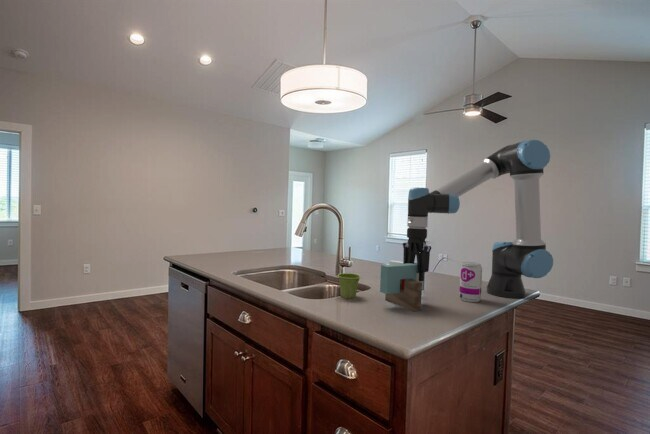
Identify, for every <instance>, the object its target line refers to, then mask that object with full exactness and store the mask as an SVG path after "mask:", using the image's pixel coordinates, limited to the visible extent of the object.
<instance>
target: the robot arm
mask: <svg viewBox="0 0 650 434" xmlns="http://www.w3.org/2000/svg"><path fill="white" fill-rule="evenodd" d="M550 159H551V152H550V149H549V148H548V146H547V145H546V144H545V143H544V142H543V141H541V140H539V139H527V140H522V141H520V142H516V143H512V144H509V145H506V146H504V147H502V148H500V149H499V150H497V151H495V152H494V153H492V154H490V155H489V156H488V157H485V158H484V159H483V160H481V163H480V164H478V165H477V166H475V167H473V168H471V169H469V170H468V171H466V172H463V173H462V174H461V175H459V176H457V177H455V178H454V179H452V180H450V181H448V182H446V183H445V184H443V185H442V186H439V187H438V188H436V189H434V190H433V191H431V192H430V190H429V188H428V187H411V188H410V189H409V191H408V197H407V222H406V223H407V226H406V227H407V229H406V237H407V238H408V239H407V242H403V243H402V247H403V248H402V249H403V261H402V262H403V264H406V263H415V260H416V263H417V266H418V271H417V273H416V281H419V282H422V288H423V281H424V273H425V274H426V273H428V272H429V271H430V255H431V250H432V246H431V245H427V242H426V239H427V238H428V229H427V228H428V222H429V221H428V217H429V213H430V214H447V215H449V214H456V213H457V212H458V211H459V209H460V207H461V206H460V205H461V204H460V203H461V201H460V198H459V197H461V196H463V195H465V194H466V193H468V192H469V191H471V190H474V188H477V187H478V186H480V185H482V184H483V183H485V182H487V181H489V180H491V179H493V180H494V179H497V178H498V177H500V176H501V177H502V176H503V175H507V174H509V177H510V178H511V179H512V180H513V181H514V205H515V206H514V209H515V210H514V211H515V239H514V241H499V242H494V243H493V245H492V250H491V251H492V253H491V254H492V257H491V260H492V261H491V276H490V278H489V280H488V284H487V286H486V292H487V294H491V295H493V296H497V297H502V298H510V299H511V298H512V299H522V298H525V297H526V290H525V287H524V282H523V280H522V279H523V278H522V276H524V277H527V278H532V279H541V278H544V277H546V276H547V275H548V274H549V273H550V272H551V270H552V268H553V266H554V257H553V255H552V254H551V253H550V252H549V251H548V250H547V246H546V242H545V241H544V240H543V239H542V231H541V230H542V229H541V228H542V225H541V224H542V223H541V201H540V200H541V196H540V195H541V193H540V178H541V177H542V176H543V175H544V168H545V167H547V165H548V164H549V162H550ZM424 282H425V281H424Z"/></svg>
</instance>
